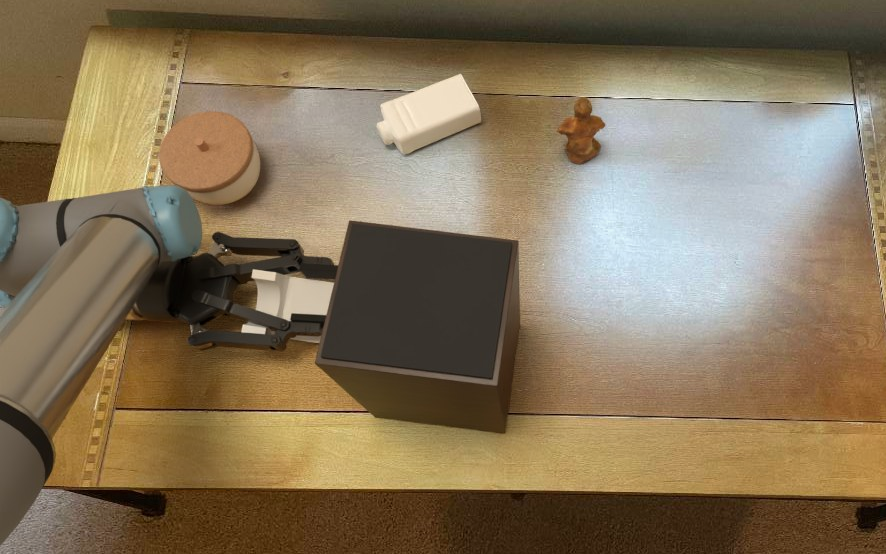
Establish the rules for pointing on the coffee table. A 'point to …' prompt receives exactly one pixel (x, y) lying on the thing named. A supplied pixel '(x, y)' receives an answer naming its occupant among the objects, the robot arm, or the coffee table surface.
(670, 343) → the coffee table surface
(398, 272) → the black pad
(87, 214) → the robot arm
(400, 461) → the coffee table surface
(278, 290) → the bracket
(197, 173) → the trinket box
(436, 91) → the white bottle
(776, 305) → the coffee table surface
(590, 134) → the figurine
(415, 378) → the walnut stand
